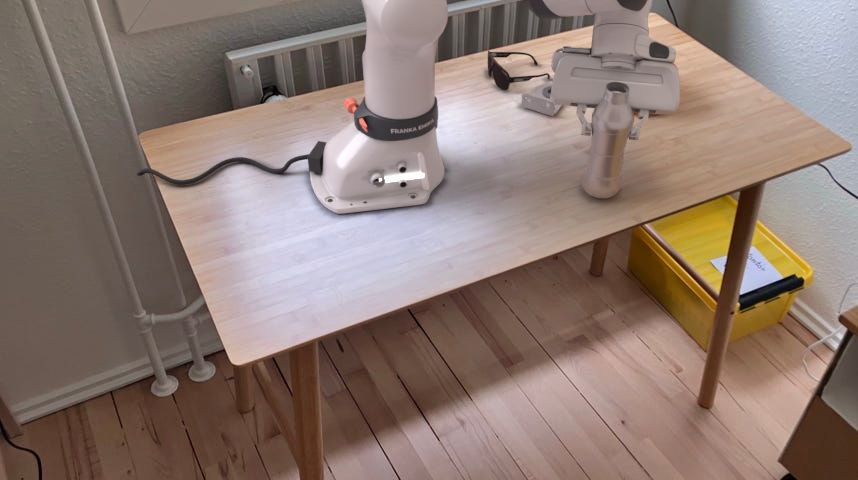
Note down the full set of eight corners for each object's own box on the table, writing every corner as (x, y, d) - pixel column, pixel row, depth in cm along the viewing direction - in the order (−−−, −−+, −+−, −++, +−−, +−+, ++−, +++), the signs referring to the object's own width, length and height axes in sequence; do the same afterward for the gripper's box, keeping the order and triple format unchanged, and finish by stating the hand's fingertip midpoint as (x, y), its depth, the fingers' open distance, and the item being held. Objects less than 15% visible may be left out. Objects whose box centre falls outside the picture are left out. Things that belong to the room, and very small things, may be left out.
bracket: (573, 93, 162) (575, 77, 160) (552, 118, 156) (554, 102, 153) (542, 83, 164) (544, 68, 162) (520, 108, 158) (522, 92, 155)
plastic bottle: (580, 177, 143) (595, 74, 129) (620, 182, 142) (639, 78, 128) (578, 201, 138) (594, 96, 124) (619, 205, 138) (639, 101, 124)
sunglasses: (478, 69, 167) (481, 46, 164) (530, 65, 172) (535, 43, 169) (499, 95, 160) (504, 72, 157) (553, 91, 165) (559, 68, 162)
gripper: (554, 39, 130) (545, 127, 129) (686, 50, 128) (677, 139, 128) (552, 50, 136) (544, 134, 136) (678, 61, 135) (670, 146, 134)
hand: (610, 137), depth 132 cm, fingers closed on plastic bottle, 6 cm apart
